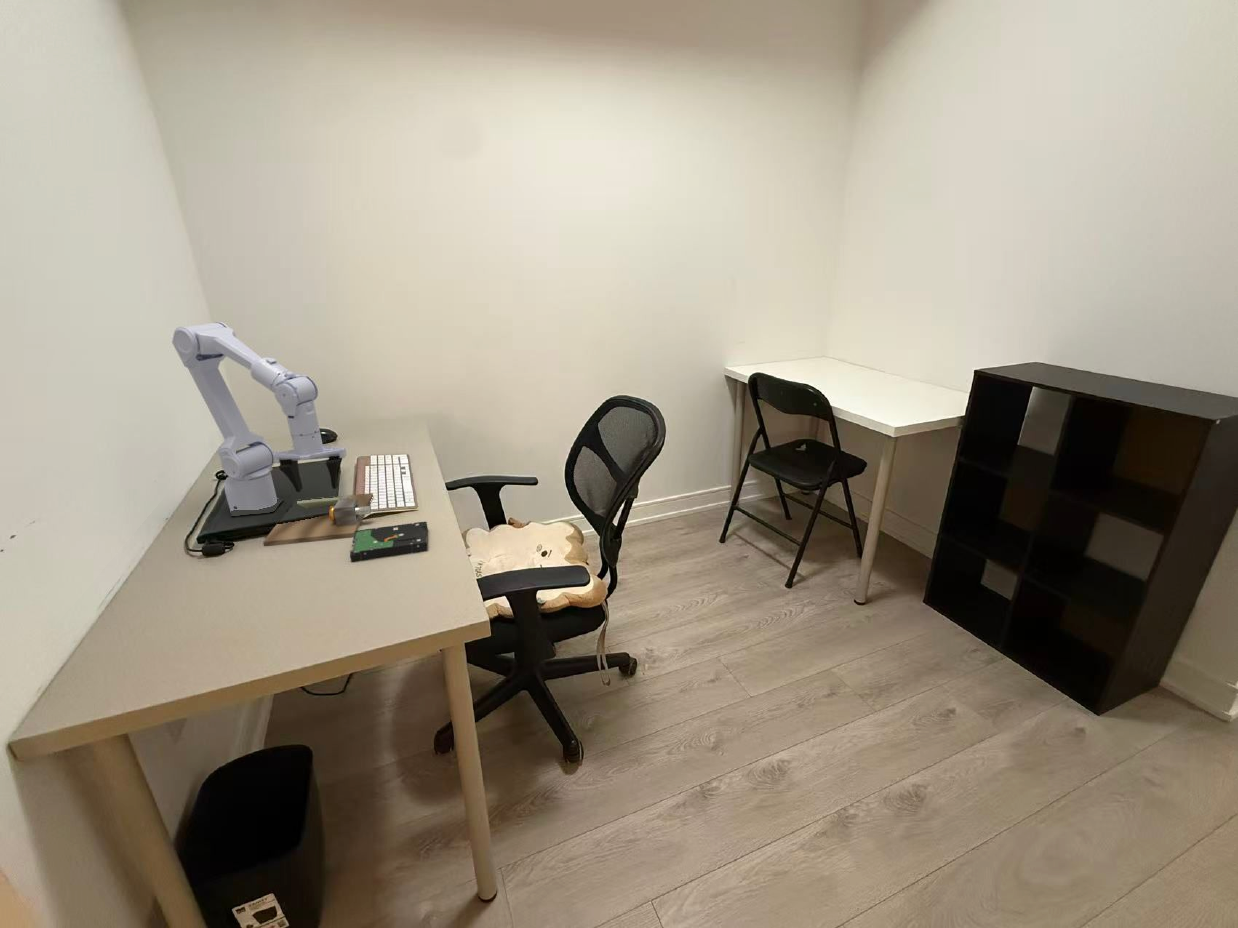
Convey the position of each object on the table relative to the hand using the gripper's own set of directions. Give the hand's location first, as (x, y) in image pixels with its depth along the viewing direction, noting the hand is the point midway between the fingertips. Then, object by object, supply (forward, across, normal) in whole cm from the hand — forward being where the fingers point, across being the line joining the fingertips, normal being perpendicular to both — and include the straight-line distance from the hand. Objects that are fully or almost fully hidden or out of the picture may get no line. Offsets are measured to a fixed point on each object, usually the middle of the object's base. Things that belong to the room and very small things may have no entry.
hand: (317, 488), depth 130 cm
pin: (+6, +7, -5) cm, 11 cm away
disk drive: (+8, +18, -17) cm, 26 cm away
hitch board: (+8, 0, 0) cm, 8 cm away
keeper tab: (+5, 0, +1) cm, 5 cm away
